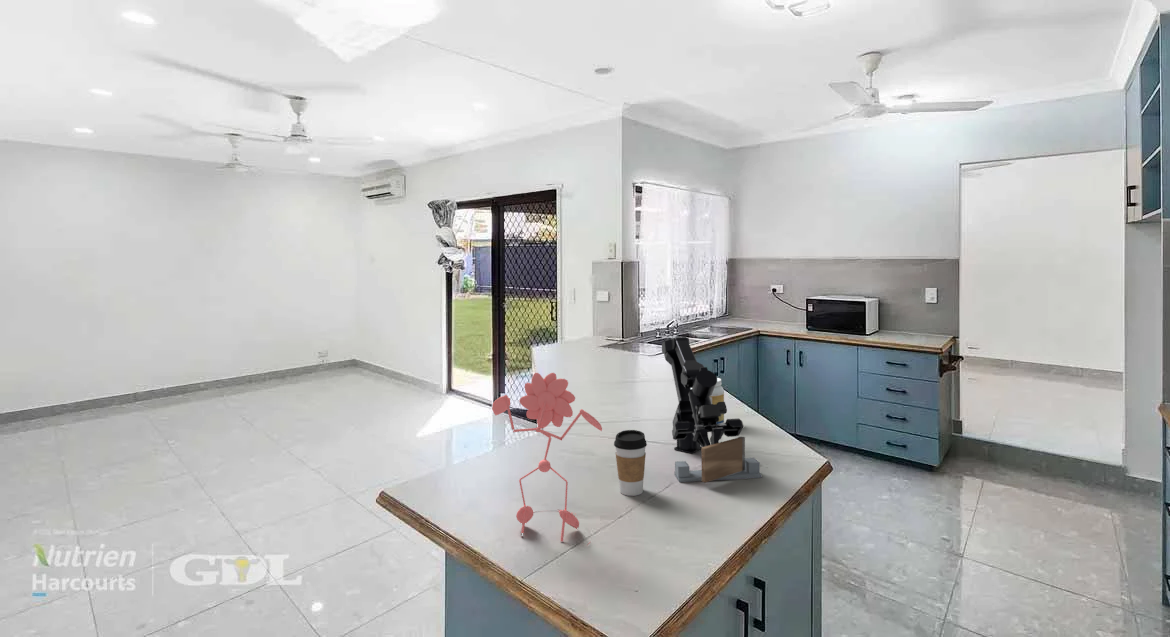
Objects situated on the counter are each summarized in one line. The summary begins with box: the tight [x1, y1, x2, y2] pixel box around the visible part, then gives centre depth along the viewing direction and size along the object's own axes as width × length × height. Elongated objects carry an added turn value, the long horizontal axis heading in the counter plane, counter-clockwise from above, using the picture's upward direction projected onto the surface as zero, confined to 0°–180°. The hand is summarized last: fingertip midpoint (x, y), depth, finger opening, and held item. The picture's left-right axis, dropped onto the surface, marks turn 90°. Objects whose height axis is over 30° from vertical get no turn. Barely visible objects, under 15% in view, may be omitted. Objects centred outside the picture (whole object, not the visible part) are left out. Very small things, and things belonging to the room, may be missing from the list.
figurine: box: [491, 372, 603, 546], centre depth 121 cm, size 15×26×35 cm, turn 74°
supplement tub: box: [691, 377, 725, 424], centre depth 196 cm, size 12×12×17 cm
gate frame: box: [674, 457, 762, 483], centre depth 148 cm, size 5×23×4 cm, turn 94°
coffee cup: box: [613, 429, 648, 497], centre depth 139 cm, size 8×8×15 cm
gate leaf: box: [700, 436, 746, 483], centre depth 144 cm, size 2×15×9 cm, turn 122°
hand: (714, 457), depth 144 cm, fingers closed
